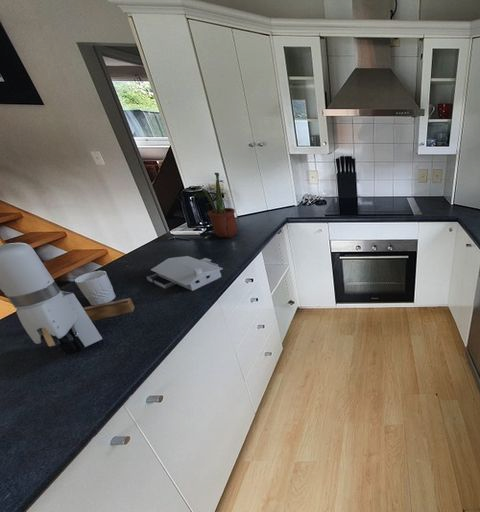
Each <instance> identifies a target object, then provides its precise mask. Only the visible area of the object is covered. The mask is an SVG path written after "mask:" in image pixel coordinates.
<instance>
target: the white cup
mask: <svg viewBox="0 0 480 512" xmlns="http://www.w3.org/2000/svg"><path fill="white" fill-rule="evenodd" d="M74 283H75V284H76V286H77V287H78V289H79V290H80V292H81V293H82V294H83V296H84V297H85V299H87V302H89V304H90V306H94V305H99V304H103V303H108V302H113V300H115V299H116V298H117V297H116V294H115V292H114V287H113V285H112V282H111V280H110V278H109V276H108V274H107V271H105V270H95V271H90V272H87V273H83V274H80V275H79V276H77V277H76V278H75V279H74Z"/></svg>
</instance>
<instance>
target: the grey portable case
mask: <svg viewBox="0 0 480 512" xmlns="http://www.w3.org/2000/svg"><path fill="white" fill-rule="evenodd" d="M221 270H224V268H223V267H220V266H219V263H215V262H212V259H210V258H207V257H204V258H201V259H197V258H195V257H192V256H189V255H185V256H176V257H168V258H166V259H165V260H163V261H162V262H160V263H159V264H157V265H156V266H154V267H152V268H151V269H150V271H152V272H155V273H153V274H152V275H148V276H146V277H145V278H146V280H147V281H148V282H150V283H152V284H153V283H154V284H155V285H156V286H159V287H160V288H163V289H168V288H169V287H172V286H174V285H178V286H180V287H183V288H185V289H187V290H189V291H192V292H193V291H195V290H197V289H199V288H202V287H204V286H206V285H208V284H210V283H212V282H214V281H216V280H218V279H220V278H222V273H221ZM155 277H160V278H162V279H165V280H167V281H168V283H165V284H164V283H162V282H159V281H158V280H154V279H155Z"/></svg>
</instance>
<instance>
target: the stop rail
mask: <svg viewBox="0 0 480 512" xmlns="http://www.w3.org/2000/svg"><path fill="white" fill-rule="evenodd" d="M135 308H136V307H135V305H134V302H133V301H132V299H131V297H128V298H127V297H126V298H122V299H118V300H114V301H113V300H112V301H110V302H107V303H103V304H99V305H90V306H85V307H83V309H84V311H85V312H86V314H87V315H88V317H89V318H90V320H91V321H92V322H94V321H99V320H103V319H107V318H111V317H116V316H121V315H125V314H129V313H133V312H134V311H135Z"/></svg>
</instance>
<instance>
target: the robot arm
mask: <svg viewBox="0 0 480 512" xmlns="http://www.w3.org/2000/svg"><path fill="white" fill-rule="evenodd" d="M0 290H1V292H2V293H3V294H4V296H5V297H6V298H7V300H8V301H9V302H10V303H11V304H12V306H13V307H14V309H15V312H16V315H17V318H18V319H19V321H20V323H21V325H22V327H23V329H24V330H25V332H26V334H27V335H28V336H29V338H30V339H31V340H32V341H33V343H34V344H36V345H39V344H42V343H43V342H44V341H45V342H46V344H47V346H48V348H54V347H57V346H60V348H61V350H62V351H63V352H64V354H65V355H67V356H69V355H73V354H76V353H80V352H82V351H84V349H85V348H86V347H85V346H84V344H83V343H82V341H81V340H80V338H79V337H78V336H77V331H76V329H75V326H74V325H75V324H74V323H75V322H76V320H77V318H78V315H77V313H76V311H75V309H74V308H73V307H72V305H71V304H70V302H69V301H68V300H67V299H66V297H65V296H64V295H63V294H62V292H61V291H62V290H61V288H60V287H59V285H57V283H56V281H55V280H54V278H53V277H52V275H51V274H50V272H49V271H48V269H47V268H46V266H45V265H44V263H43V261H42V260H41V258H40V257H39V255H38V254H37V252H36V251H35V250H34V248H33V246H31V244H28V243H24V242H11V243H4V244H0Z"/></svg>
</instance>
